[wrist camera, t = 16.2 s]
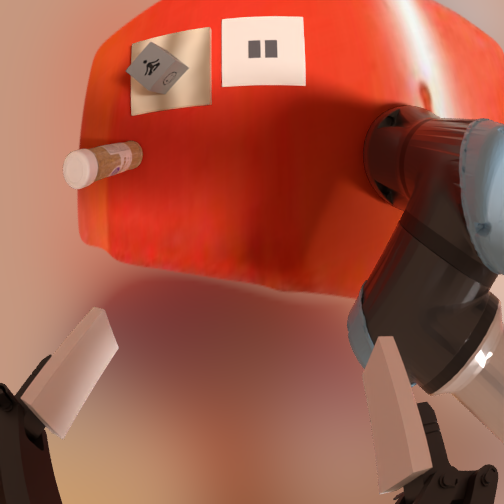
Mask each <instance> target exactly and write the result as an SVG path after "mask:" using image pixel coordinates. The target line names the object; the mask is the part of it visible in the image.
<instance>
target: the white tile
mask: <svg viewBox="0 0 504 504" xmlns="http://www.w3.org/2000/svg"><path fill="white" fill-rule="evenodd" d="M249 85H294V86H306V74H305V46H304V27H303V17H286V16H266V17H243V18H231V19H222V87H229V86H249Z"/></svg>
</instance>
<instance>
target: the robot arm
mask: <svg viewBox="0 0 504 504" xmlns="http://www.w3.org/2000/svg"><path fill="white" fill-rule="evenodd" d="M363 159H364V166H365V170H366V174H367V177H368V179H369V181H370V183H371V185H372V186H373V188H374V189H375V191H376V192H377V193H378V194H379V195H380V196H381V197H382V198H383V199H384V200H385V201H387V202H388V203H389V204H391V205H392V206H394V207H396V208H398V209H400V210H403V211H404V213H403V215H402V217H401V219H400V221H399V223H398V225H397V227H396V229H395V231H394V233H393V235H392V237H391V238H390V240H389V242H388V244H387V246H386V248H385V250H384V252H383V254H382V255H381V257H380V259H379V261H378V263H377V264H376V266H375V268H374V270H373V272H372V273H371V275H370V277H369V278H368V280H366V281H365V282H364V283H363V285H362V287H361V289H360V293H359V296H358V298H357V300H356V301H355V303H354V305H353V307H352V309H351V311H350V313H349V316H348V321H347V328H348V331H349V333H348V338H349V342H350V345H351V347H352V350H353V352H354V354H355V356H356V358H357V360H358V361H359V363H360V364H361V365H362V367H363V368H364V372H363V374H362V379H363V383H364V389H365V394H366V398H367V405H368V410H369V416H370V422H371V428H372V435H373V442H374V449H375V457H376V466H377V475H378V485H379V494H383V493H388V492H392V491H396V490H398V489H400V488H402V487H404V492H402V493H400V494H399V495H397V496H396V497H395V498H394V499H393V500H396V499H398V498H399V499H398V500H397V502H396V503H395V504H494V499H495V494H496V489H497V482H498V472H497V469H496V468H495V467H494V466H492V465H485V466H483V467H482V468H480V469H479V470H476V471H458V470H457V469H456V468H455V467H453V466H451V465H450V463H449V461H448V459H447V454H446V450H445V447H444V443H443V439H442V436H441V432H440V431H439V430H440V429H439V425H438V423H437V419H436V415H435V412H434V410H433V409H432V407H431V406H430V405H429V404H428V403H427V402H423V403H416V400H415V397H414V394H413V391H412V388H411V387H413V386H415V385H416V384H418V385H419V386H420V387H421V388H422V389H423V390H424V391H425V392H426V393H428V394H429V395H430V396H435V395H441V394H447V393H450V394H452V395H453V396H454V397H455V398H456V399H457V400H458V401H459V402H461V404H462V405H464V406H465V407H466V408H467V409H468V410H469V411H470V412H471V413H472V414H473V415H474V416H475V417H476V418H477V419H478V420H479V421H481V422H482V423H483V424H484V425H485V426H486V427H487V428H488V429H489V430H490V431H491V432H492V433H493V434H494V435H495V436H496V437H497V438H498V439H499V440H500V441H501V442H502V443H503V444H504V324H503V322H502V313H501V302H500V300H499V299H498V298H497V297H496V296H494V295H493V294H492V293H491V292H490V291H489V290H490V288H491V286H492V284H493V283H494V281H495V279H496V278H497V276H498V274H503V275H504V124H502V123H498V122H494V121H492V120H489V119H484V118H483V119H478V120H477V119H476V120H475V119H451V118H440V117H438V116H437V115H435V114H434V113H432V112H430V111H428V110H426V109H424V108H420V107H416V106H402V107H396V108H392V109H390V110H387V111H386V112H384V113H383V114H381V115H380V116H379V117H378V118H377V119H376V120H375V121H374V122H373V124H372V125H371V127H370V129H369V131H368V133H367V135H366V139H365V143H364V150H363ZM117 349H118V345H117V343H116V340H115V337H114V335H113V333H112V329H111V327H110V324H109V321H108V318H107V315H106V312H105V310H104V309H100V308H96V307H93V308H92V309H91V310H90V312H89V313H88V314H87V315H86V316H85V317H84V318H83V319H82V320H81V322H80V323H79V324H78V325H77V326H76V327H75V329H74V330H73V331H72V332H71V333H70V335H69V336H68V337H67V338H66V339H65V341H64V342H63V343H62V344H61V345H60V347H59V348H58V349H57V350H56V351H55V353H54V354H53V355H49V356H47V357H46V358H44V359H43V360H42V361H41V362H40V363H39V365H38V366H37V368H36V369H35V370H34V371H33V372H32V375H30V376H29V378H28V379H27V380H26V382H25V383H24V384H23V386H22V387H21V388H20V390H19V391H18V392H17V394H16V395H15V396H14V395H13V394H12V393H11V391H10V390H9V389H8V388H7V386H6V385H5V384H3V383H0V504H62V501H61V498H60V494H59V491H58V487H57V484H56V480H55V476H54V472H53V467H52V463H51V458H50V453H49V447H48V441H47V434H46V432H45V430H44V428H45V427H47V428H48V429H49V430H50V431H51V432H52V433H53V434H55V435H57V436H58V437H60V438H62V439H63V438H64V437H65V435H66V433H67V431H68V430H69V428H70V426H71V424H72V423H73V421H74V419H75V417H76V416H77V414H78V412H79V411H80V409H81V407H82V406H83V404H84V402H85V400H86V399H87V397H88V395H89V394H90V392H91V390H92V388H93V387H94V385H95V384H96V382H97V381H98V379H99V378H100V376H101V374H102V373H103V371H104V370H105V368H106V366H107V365H108V363H109V362H110V360H111V359H112V357H113V356H114V354H115V353H116V351H117Z"/></svg>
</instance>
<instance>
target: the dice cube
mask: <svg viewBox="0 0 504 504" xmlns="http://www.w3.org/2000/svg"><path fill="white" fill-rule="evenodd" d="M188 69H189V67H188V66H186V65H185V64H184V63H183V62H181V61H180V60H179V59H177V58H176V57H175V56H174V55H172V54H171V53H170V52H168V51H167V50H165V49H164V48H162V47H160V46H158V45H156V44H155V43H153V42H150V43H149V44H148V45H147V46H146V47H145V48H144V50H143V51H142V52H141V53H140V54H139V55H138V56H137V58H136V59H135V60H134V61H133V62H132V64H131V65H130V66H129V67H128V69H127V70H126V72H127V73H128V74H130V75H131V76H132V77H133V78H134V79H136V80H137V81H138V82H139V83H140V84H141V85H143V86H144V87H145V88H146V89H147V90H148V91H152V92H156V93H161V94H166V93H167V92H168V91H169V90H170V88H171V87H172V86H173V85H174V84H175V83H176V82H177V81H178V80H179V78H180V77H181V76H182V75H183V74H184V73H185V72H186V71H187V70H188Z"/></svg>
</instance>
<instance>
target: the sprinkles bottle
mask: <svg viewBox="0 0 504 504" xmlns="http://www.w3.org/2000/svg"><path fill="white" fill-rule="evenodd" d="M142 158H143V152H142V148H141V146H140V145H139V144H138V143H137V142H135V141H127V142H123V143H114V144H109V145H103V146H98V147H95V148H91V149H79V150H76V151H73V152H71V153H69V154H68V155H67V157H66V158H65V161H64V164H63V175H64V178H65V181H66V182H67V184H68V185H69V186H70V187H72V188H74V189H81V188H84V187H86V186H89V185H91V184H92V183H93V182H95V181H97V180H100V179H102V178H105V177H109V176H112V175H115V174H118V173H121V172H124V171H126V170H129V169H134V168H136V167H138V166H139V165H140V163H141V161H142Z"/></svg>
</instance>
